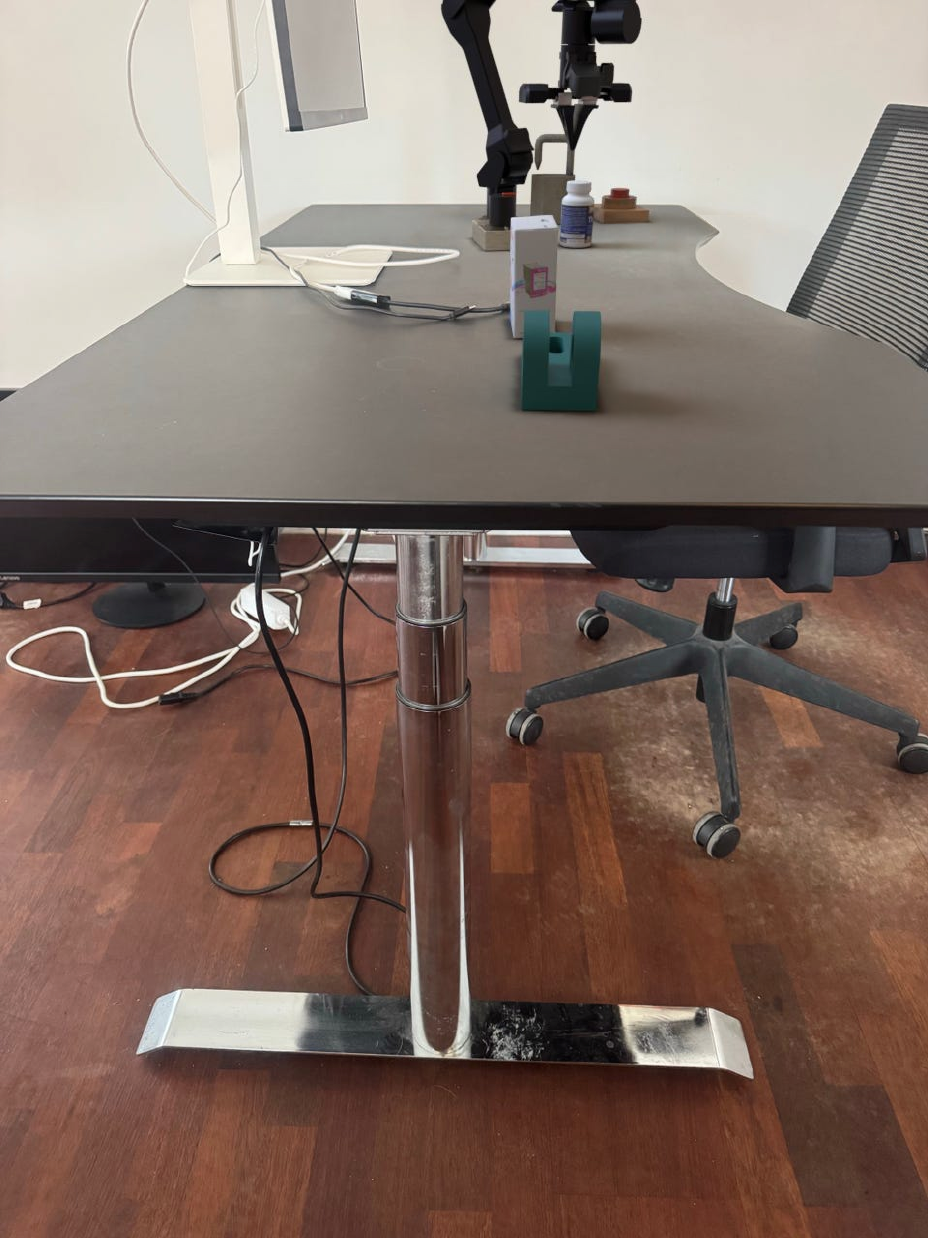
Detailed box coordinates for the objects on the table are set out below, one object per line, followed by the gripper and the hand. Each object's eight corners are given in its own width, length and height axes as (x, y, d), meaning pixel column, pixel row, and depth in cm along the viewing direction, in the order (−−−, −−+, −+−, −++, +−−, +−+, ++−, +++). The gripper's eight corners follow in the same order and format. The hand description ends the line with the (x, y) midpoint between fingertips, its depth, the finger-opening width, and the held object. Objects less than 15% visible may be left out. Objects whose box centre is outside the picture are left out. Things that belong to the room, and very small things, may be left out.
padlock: (530, 220, 170) (533, 132, 162) (572, 221, 169) (577, 133, 161) (529, 224, 167) (532, 134, 158) (572, 224, 166) (578, 134, 158)
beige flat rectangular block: (470, 238, 154) (470, 218, 152) (527, 236, 155) (528, 217, 153) (483, 250, 144) (483, 230, 142) (543, 248, 145) (544, 228, 144)
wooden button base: (588, 215, 175) (589, 193, 173) (631, 214, 176) (633, 192, 174) (603, 223, 167) (605, 200, 165) (648, 222, 168) (650, 199, 166)
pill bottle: (592, 248, 145) (597, 183, 140) (560, 248, 146) (564, 183, 140) (589, 242, 150) (594, 179, 145) (558, 242, 150) (561, 179, 145)
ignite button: (607, 197, 171) (608, 187, 170) (625, 197, 171) (626, 187, 170) (613, 200, 168) (614, 190, 167) (631, 199, 168) (632, 189, 167)
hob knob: (491, 226, 146) (492, 195, 143) (486, 222, 149) (486, 191, 147) (517, 225, 146) (518, 194, 144) (511, 221, 150) (512, 190, 147)
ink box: (507, 319, 106) (509, 213, 100) (548, 319, 106) (553, 213, 100) (511, 339, 99) (514, 226, 93) (555, 338, 99) (561, 225, 93)
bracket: (595, 410, 79) (603, 322, 75) (521, 409, 79) (524, 321, 75) (584, 353, 94) (589, 277, 90) (521, 352, 94) (524, 276, 90)
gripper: (535, 44, 138) (531, 155, 146) (647, 43, 141) (637, 153, 149) (519, 44, 147) (516, 149, 156) (625, 44, 150) (617, 147, 158)
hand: (572, 150), depth 154 cm, fingers closed
